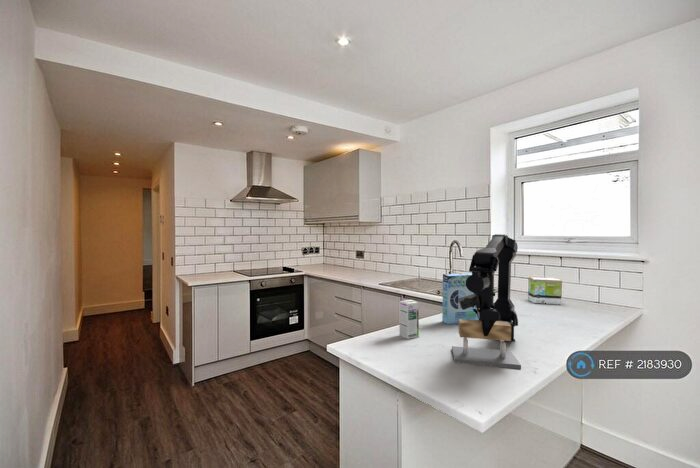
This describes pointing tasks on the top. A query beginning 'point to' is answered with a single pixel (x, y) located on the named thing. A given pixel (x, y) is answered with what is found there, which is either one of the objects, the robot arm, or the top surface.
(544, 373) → the top surface
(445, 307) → the gum box
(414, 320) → the syrup box
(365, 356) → the top surface
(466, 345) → the peg stand
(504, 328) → the wooden block
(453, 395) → the top surface
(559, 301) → the tea box
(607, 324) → the top surface
